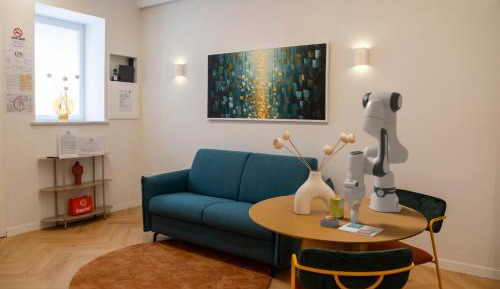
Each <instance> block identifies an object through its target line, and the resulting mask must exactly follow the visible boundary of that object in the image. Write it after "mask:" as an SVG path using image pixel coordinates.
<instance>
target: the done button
mask: <svg viewBox="0 0 500 289" xmlns="http://www.w3.org/2000/svg"><path fill="white" fill-rule="evenodd" d="M325 218H326V220H328V221H334V217H333V216H330V215H326V216H325Z"/></svg>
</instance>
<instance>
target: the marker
mask: <svg viewBox="0 0 500 289" xmlns="http://www.w3.org/2000/svg"><path fill="white" fill-rule="evenodd" d="M352 204H353V209H352V210H350V223H354V224H359V221H360V220H359V217H360V216H359V213H360V212H359V211H360V206H358V205H357V204H356V203H352Z"/></svg>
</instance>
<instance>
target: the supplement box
mask: <svg viewBox="0 0 500 289" xmlns="http://www.w3.org/2000/svg"><path fill="white" fill-rule="evenodd" d="M344 209H345V201H344V197H338V196H333V197H331V198H329V216H333V217H334V218H335V219H339V220H340V219H343V218H344V214H345V213H344V212H345V210H344Z"/></svg>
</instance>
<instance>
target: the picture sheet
mask: <svg viewBox="0 0 500 289" xmlns="http://www.w3.org/2000/svg"><path fill="white" fill-rule="evenodd" d="M337 231H341V232H346V233H350V234H357V235H360V236H366V237H371V238H373V237H375V236H376V235H378V234H380V233H381V232H383V231H384V228H380V227H374V226H369V225H364V224H359V223H356V224H355V223H351V222H348V223H346V224H344V225H342V226H340V227H338V228H337Z"/></svg>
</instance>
